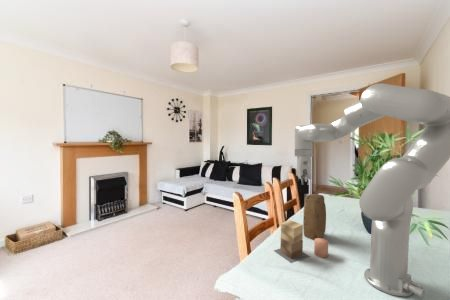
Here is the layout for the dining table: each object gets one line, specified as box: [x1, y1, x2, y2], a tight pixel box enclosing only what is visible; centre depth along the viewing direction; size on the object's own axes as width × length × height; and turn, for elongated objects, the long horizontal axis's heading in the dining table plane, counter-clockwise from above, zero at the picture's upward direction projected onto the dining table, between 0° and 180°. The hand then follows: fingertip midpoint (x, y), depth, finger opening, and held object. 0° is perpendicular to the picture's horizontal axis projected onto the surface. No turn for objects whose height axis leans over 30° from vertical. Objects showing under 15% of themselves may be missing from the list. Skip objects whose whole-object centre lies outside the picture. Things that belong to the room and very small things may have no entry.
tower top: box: [280, 219, 304, 244], centre depth 85 cm, size 6×6×6 cm
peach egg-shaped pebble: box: [313, 237, 329, 259], centre depth 85 cm, size 5×5×6 cm
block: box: [302, 193, 327, 241], centre depth 102 cm, size 11×8×20 cm
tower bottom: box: [279, 237, 304, 259], centre depth 86 cm, size 6×6×6 cm
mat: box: [273, 247, 311, 264], centre depth 86 cm, size 10×10×1 cm
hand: (303, 191), depth 96 cm, fingers open, 9 cm apart
